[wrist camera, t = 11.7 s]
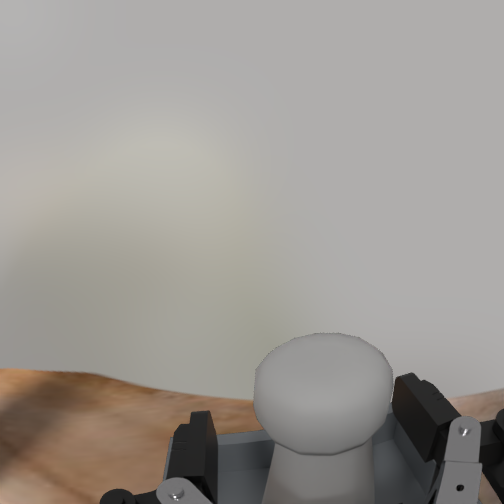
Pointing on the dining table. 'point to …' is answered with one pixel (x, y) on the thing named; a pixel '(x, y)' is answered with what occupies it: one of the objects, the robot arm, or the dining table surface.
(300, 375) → the salt shaker
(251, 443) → the tray
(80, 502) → the dining table surface
